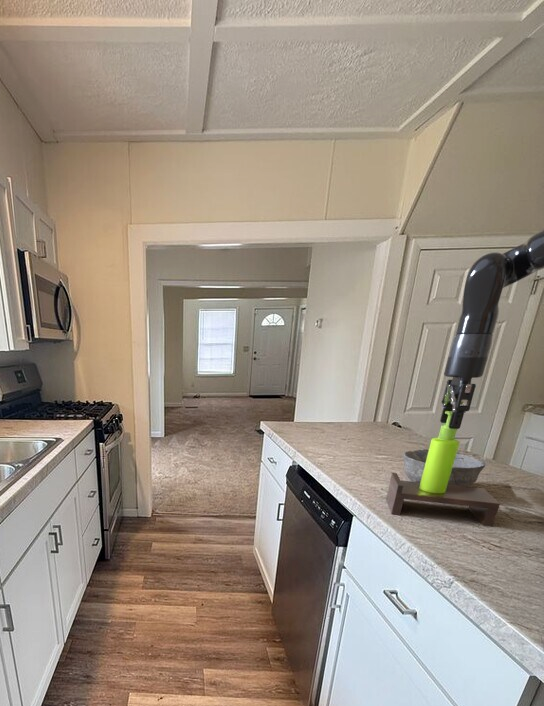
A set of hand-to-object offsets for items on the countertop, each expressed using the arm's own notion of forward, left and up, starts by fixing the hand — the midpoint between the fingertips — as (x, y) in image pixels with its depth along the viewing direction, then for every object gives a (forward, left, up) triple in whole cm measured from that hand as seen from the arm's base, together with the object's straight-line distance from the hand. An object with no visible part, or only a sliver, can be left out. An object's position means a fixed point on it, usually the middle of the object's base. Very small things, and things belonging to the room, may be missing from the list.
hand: (449, 425), depth 99 cm
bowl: (-6, -21, -23) cm, 32 cm away
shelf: (-2, 0, -23) cm, 23 cm away
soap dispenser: (0, 0, -17) cm, 17 cm away
